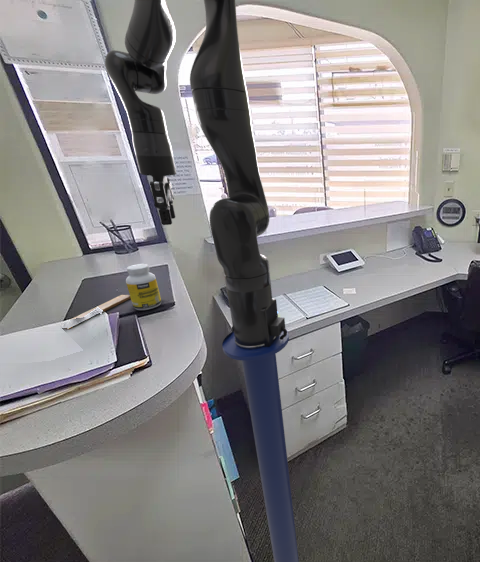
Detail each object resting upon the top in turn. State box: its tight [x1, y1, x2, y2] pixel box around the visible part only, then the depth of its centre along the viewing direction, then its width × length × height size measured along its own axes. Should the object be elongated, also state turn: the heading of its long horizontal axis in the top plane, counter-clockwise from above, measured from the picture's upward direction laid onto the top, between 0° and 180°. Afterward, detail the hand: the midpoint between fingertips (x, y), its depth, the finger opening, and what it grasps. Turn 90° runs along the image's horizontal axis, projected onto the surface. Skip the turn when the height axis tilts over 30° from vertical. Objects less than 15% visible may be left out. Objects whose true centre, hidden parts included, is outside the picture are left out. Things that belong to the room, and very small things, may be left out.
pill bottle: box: [125, 263, 162, 311], centre depth 84 cm, size 6×6×12 cm
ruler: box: [69, 294, 131, 320], centre depth 82 cm, size 3×18×1 cm, turn 174°
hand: (169, 221), depth 80 cm, fingers open, 8 cm apart
